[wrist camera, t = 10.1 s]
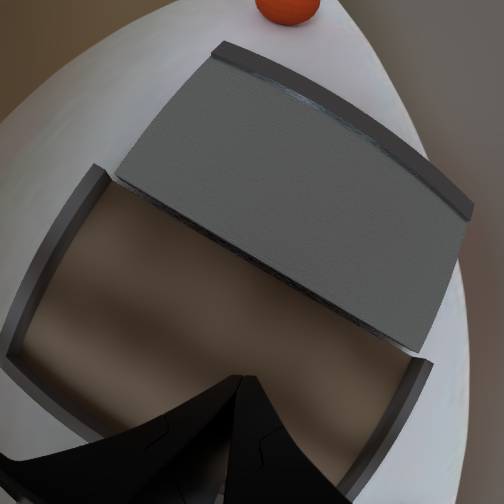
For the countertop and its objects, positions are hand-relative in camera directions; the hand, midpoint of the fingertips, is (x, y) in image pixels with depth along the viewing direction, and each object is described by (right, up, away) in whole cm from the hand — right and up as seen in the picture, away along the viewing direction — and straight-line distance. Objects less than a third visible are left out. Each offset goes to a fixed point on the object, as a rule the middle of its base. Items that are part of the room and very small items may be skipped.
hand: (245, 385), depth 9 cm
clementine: (+4, +31, +16) cm, 35 cm away
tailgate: (+1, +3, +8) cm, 8 cm away
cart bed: (-2, -3, +9) cm, 10 cm away
